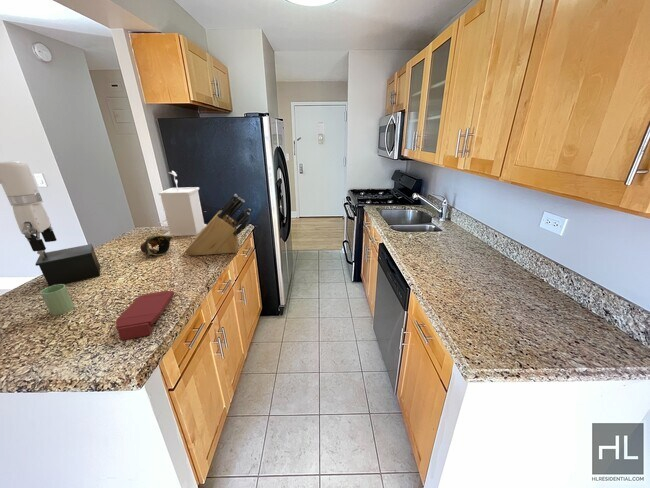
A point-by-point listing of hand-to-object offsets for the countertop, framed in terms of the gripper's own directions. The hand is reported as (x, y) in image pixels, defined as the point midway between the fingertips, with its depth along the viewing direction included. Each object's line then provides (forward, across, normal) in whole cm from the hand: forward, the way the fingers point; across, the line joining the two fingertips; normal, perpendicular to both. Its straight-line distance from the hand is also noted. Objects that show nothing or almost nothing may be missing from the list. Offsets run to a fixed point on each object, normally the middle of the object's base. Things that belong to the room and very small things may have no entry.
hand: (45, 245), depth 95 cm
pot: (+22, -33, +29) cm, 49 cm away
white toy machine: (+22, -70, +44) cm, 86 cm away
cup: (+22, +10, +1) cm, 24 cm away
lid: (+11, -20, -3) cm, 24 cm away
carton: (+22, +28, +29) cm, 46 cm away
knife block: (+22, -19, +61) cm, 68 cm away
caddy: (+22, -20, -2) cm, 30 cm away
